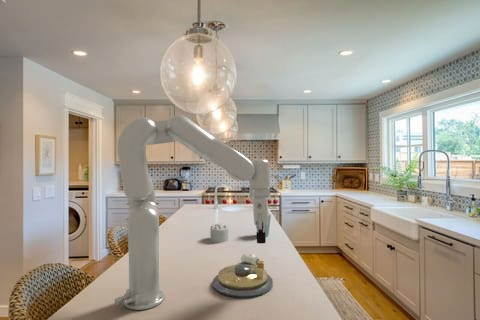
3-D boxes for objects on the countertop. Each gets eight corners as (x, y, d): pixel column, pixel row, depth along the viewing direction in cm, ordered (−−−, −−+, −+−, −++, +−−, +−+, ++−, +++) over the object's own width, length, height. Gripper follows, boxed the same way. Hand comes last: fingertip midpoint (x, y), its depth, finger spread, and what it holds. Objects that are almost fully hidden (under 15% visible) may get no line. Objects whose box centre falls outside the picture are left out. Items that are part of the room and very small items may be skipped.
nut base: (250, 304, 93) (250, 294, 93) (200, 287, 106) (200, 278, 106) (283, 281, 110) (283, 272, 110) (236, 268, 123) (236, 261, 123)
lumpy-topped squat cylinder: (228, 236, 176) (228, 222, 176) (227, 242, 163) (227, 227, 163) (211, 237, 176) (211, 222, 176) (209, 243, 163) (209, 227, 163)
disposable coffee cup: (272, 237, 173) (272, 212, 173) (254, 237, 173) (253, 212, 173) (270, 233, 183) (270, 209, 183) (253, 233, 183) (253, 209, 184)
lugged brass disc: (214, 289, 100) (213, 273, 100) (222, 270, 118) (222, 256, 118) (266, 291, 98) (266, 275, 98) (267, 271, 116) (267, 257, 116)
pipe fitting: (250, 260, 136) (240, 263, 130) (250, 252, 136) (241, 254, 131) (264, 264, 130) (255, 267, 125) (264, 255, 131) (255, 258, 125)
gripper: (269, 195, 100) (271, 249, 100) (270, 190, 115) (271, 237, 115) (247, 195, 101) (249, 249, 101) (251, 191, 115) (252, 237, 115)
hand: (261, 242), depth 108 cm, fingers closed
